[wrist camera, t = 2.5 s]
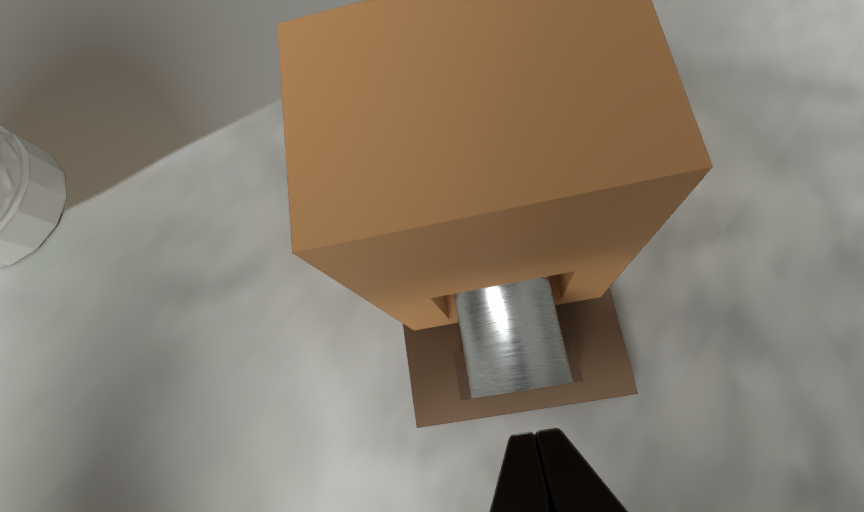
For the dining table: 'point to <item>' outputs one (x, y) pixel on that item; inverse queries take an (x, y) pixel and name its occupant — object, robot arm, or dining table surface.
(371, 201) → the tan block
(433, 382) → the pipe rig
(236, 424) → the dining table surface
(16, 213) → the white cup
